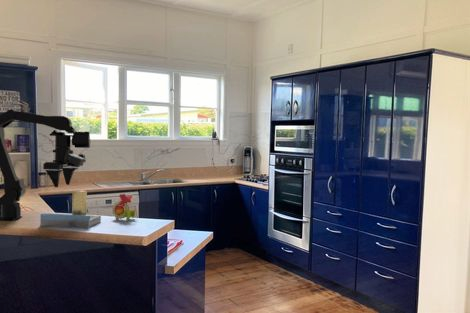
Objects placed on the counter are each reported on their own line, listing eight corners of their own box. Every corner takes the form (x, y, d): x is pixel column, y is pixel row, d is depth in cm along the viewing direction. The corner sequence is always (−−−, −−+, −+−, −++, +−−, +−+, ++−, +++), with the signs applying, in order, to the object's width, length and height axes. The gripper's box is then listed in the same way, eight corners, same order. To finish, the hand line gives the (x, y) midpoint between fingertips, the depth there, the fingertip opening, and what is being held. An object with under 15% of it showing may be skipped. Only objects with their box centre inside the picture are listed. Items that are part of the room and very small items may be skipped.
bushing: (69, 224, 143) (69, 191, 143) (78, 222, 148) (79, 190, 148) (79, 226, 142) (80, 192, 141) (89, 223, 146) (89, 191, 146)
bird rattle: (114, 226, 152) (134, 218, 151) (104, 200, 152) (124, 192, 151) (120, 223, 158) (140, 215, 157) (110, 198, 159) (130, 190, 158)
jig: (40, 226, 140) (40, 213, 140) (56, 219, 151) (56, 208, 151) (88, 228, 139) (88, 215, 139) (100, 221, 150) (100, 210, 150)
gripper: (71, 148, 145) (70, 189, 145) (92, 147, 163) (91, 184, 164) (42, 147, 145) (42, 188, 146) (66, 147, 164) (66, 183, 164)
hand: (62, 185), depth 155 cm, fingers open, 9 cm apart
